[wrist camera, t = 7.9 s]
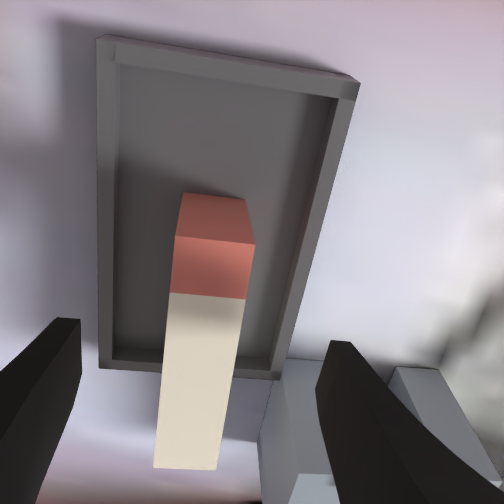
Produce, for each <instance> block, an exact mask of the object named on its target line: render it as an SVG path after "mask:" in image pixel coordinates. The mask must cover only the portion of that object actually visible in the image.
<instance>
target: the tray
mask: <svg viewBox="0 0 504 504" xmlns="http://www.w3.org/2000/svg"><path fill="white" fill-rule="evenodd" d="M360 84H361V83H360V82H358V81H357V80H355V79H354V78H353V77H351V76H350V75H345V74H339V73H333V72H327V71H321V70H315V69H309V68H303V67H297V66H291V65H285V64H279V63H273V62H267V61H262V60H256V59H250V58H244V57H238V56H232V55H226V54H220V53H214V52H208V51H202V50H196V49H190V48H184V47H179V46H173V45H167V44H161V43H155V42H149V41H143V40H137V39H131V38H125V37H119V36H113V35H107V34H106V35H104V36H101V37H99V38H97V39H96V97H97V222H98V347H99V368H101V369H116V370H131V371H145V372H160V373H162V368H163V358H164V347H165V336H166V326H167V315H168V305H169V294H170V284H171V273H172V263H173V252H174V242H175V233H176V228H177V222H178V217H179V212H180V206H181V201H182V195H183V192H187V193H195V194H203V195H211V196H219V197H227V198H235V199H243V200H245V201H246V205H247V210H248V214H249V218H250V223H251V227H252V232H253V236H254V241H255V250H254V256H253V261H252V267H251V273H250V278H249V284H248V290H247V296H246V301H245V307H244V313H243V319H242V324H241V330H240V336H239V341H238V347H237V353H236V359H235V364H234V370H233V376H232V377H234V378H248V379H263V380H278V381H280V378H281V375H282V371H283V367H284V364H285V360H286V356H287V352H288V349H289V345H290V341H291V338H292V334H293V330H294V327H295V323H296V319H297V316H298V312H299V308H300V305H301V301H302V297H303V294H304V290H305V286H306V283H307V279H308V275H309V271H310V268H311V264H312V260H313V257H314V253H315V249H316V246H317V242H318V238H319V235H320V231H321V227H322V224H323V220H324V216H325V213H326V209H327V205H328V202H329V198H330V194H331V190H332V187H333V183H334V179H335V176H336V172H337V168H338V165H339V161H340V157H341V154H342V150H343V146H344V143H345V139H346V135H347V132H348V128H349V124H350V120H351V117H352V113H353V109H354V106H355V102H356V98H357V95H358V91H359V87H360Z"/></svg>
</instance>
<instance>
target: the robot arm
mask: <svg viewBox="0 0 504 504" xmlns="http://www.w3.org/2000/svg"><path fill="white" fill-rule="evenodd" d="M81 375H82V356H81V323H80V319H72V318H60V317H57V318H56V319H54V320H53V321H52V322H51V323H50V324H49V325H48V326H47V327H46V328H45V329H44V330H43V331H42V332H41V333H40V334H39V335H38V336H37V337H36V338H35V339H34V340H33V341H32V342H31V343H30V344H29V345H28V346H27V347H26V348H25V349H24V350H23V351H22V352H21V353H20V354H19V355H18V356H17V357H15V358H14V359H13V360H12V361H11V362H10V363H9V364H8V365H7V366H6V367H5V368H3V369H2V370H1V371H0V504H35V502H36V499H37V496H38V493H39V491H40V488H41V485H42V482H43V480H44V478H45V475H46V473H47V470H48V468H49V465H50V463H51V460H52V458H53V455H54V453H55V450H56V448H57V446H58V443H59V441H60V438H61V436H62V433H63V431H64V428H65V426H66V423H67V421H68V418H69V416H70V413H71V411H72V408H73V405H74V401H75V398H76V394H77V390H78V387H79V383H80V379H81ZM315 395H316V403H317V411H318V418H319V424H320V428H321V432H322V436H323V440H324V443H325V447H326V451H327V455H328V459H329V463H330V466H331V470H332V474H333V478H334V482H335V485H336V489H337V493H338V497H339V502H340V504H504V492H503V491H502V490H500V489H499V488H498V487H496V486H495V485H494V484H492V483H491V482H489V481H488V480H487V479H485V478H484V477H483V476H482V475H480V474H479V473H478V472H477V471H475V470H474V469H473V468H472V467H470V466H469V465H468V464H466V463H465V462H464V461H463V460H462V459H460V458H459V457H458V456H457V455H456V454H454V453H453V452H452V451H451V450H450V449H449V448H448V447H447V446H445V445H444V444H443V443H442V442H441V441H440V440H439V439H438V438H437V437H435V436H434V435H433V434H432V433H431V432H430V431H429V430H428V429H427V428H426V427H425V426H424V425H423V424H422V423H421V422H420V421H419V420H418V419H417V418H416V417H415V416H414V415H413V414H412V413H411V412H410V411H409V410H408V409H407V408H406V407H405V405H404V404H403V403H402V402H401V401H400V400H399V399H398V398H397V397H396V396H395V394H394V393H393V392H392V391H391V390H390V389H389V388H388V386H387V385H386V384H385V383H384V382H383V381H382V379H381V378H380V377H379V376H378V375H377V373H376V372H375V371H374V370H373V369H372V367H371V366H370V365H369V364H368V363H367V361H366V360H365V359H364V358H363V356H362V355H361V354H360V353H359V352H358V350H357V349H356V348H355V347H354V346H353V344H352V343H351V342H347V341H335V340H331V341H330V344H329V347H328V350H327V353H326V356H325V359H324V362H323V365H322V368H321V372H320V375H319V378H318V381H317V384H316V387H315Z"/></svg>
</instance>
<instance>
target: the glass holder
mask: <svg viewBox="0 0 504 504" xmlns="http://www.w3.org/2000/svg"><path fill="white" fill-rule="evenodd" d="M502 481H503V482H502V483H501V485H500V486H499V487H498V488H499V489H500V490H502V491H503V492H504V477H503V478H502Z"/></svg>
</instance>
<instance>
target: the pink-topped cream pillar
mask: <svg viewBox="0 0 504 504" xmlns="http://www.w3.org/2000/svg"><path fill="white" fill-rule="evenodd" d="M254 250H255V241H254V236H253V232H252V227H251V223H250V218H249V214H248V210H247V205H246V201H245V200H243V199H235V198H227V197H219V196H211V195H203V194H195V193H187V192H183V195H182V201H181V206H180V212H179V217H178V222H177V228H176V233H175V242H174V252H173V263H172V273H171V284H170V294H169V305H168V315H167V326H166V336H165V347H164V358H163V368H162V379H161V389H160V400H159V410H158V421H157V431H156V442H155V452H154V463H153V468H171V469H196V470H216V468H217V462H218V456H219V450H220V445H221V439H222V433H223V427H224V422H225V416H226V410H227V404H228V399H229V393H230V387H231V382H232V376H233V370H234V364H235V359H236V353H237V347H238V341H239V336H240V330H241V324H242V319H243V313H244V307H245V301H246V296H247V290H248V284H249V278H250V273H251V267H252V261H253V256H254Z"/></svg>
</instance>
